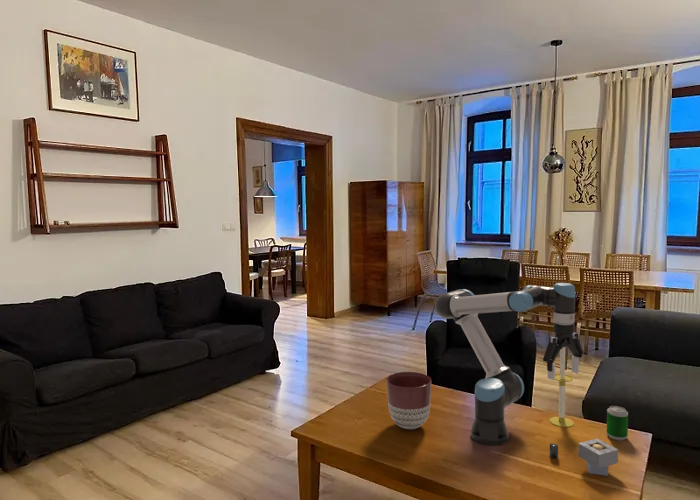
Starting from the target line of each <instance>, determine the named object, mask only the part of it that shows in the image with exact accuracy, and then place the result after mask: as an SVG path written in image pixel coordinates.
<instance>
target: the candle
mask: <svg viewBox="0 0 700 500" xmlns="http://www.w3.org/2000/svg"><path fill="white" fill-rule="evenodd" d="M573 380H574V378H573V377H572V376H570V375H568V374H566V346H565V347H563V348H562V349H560V351H559V373H555V380H554V381H558V416H553V417H551V418H549V422H550V424H551V425H554V426H557V427H559V426H560V428H571V427H573V426H574V425H575V422H574V421H573V420H572V419H571V418H568V417H566V383H567V382H572V381H573Z"/></svg>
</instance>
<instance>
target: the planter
mask: <svg viewBox="0 0 700 500" xmlns="http://www.w3.org/2000/svg"><path fill="white" fill-rule="evenodd" d="M386 390H387V392H386V393H387V402H388V403H387V405H388V406H387V407H388V411H389V415H390V417H391V419H392V421H393V422H394V423H395V425H397V427H400V428H401V429H405V430H416V429H418V428H421V427H422V426H423V425H424V424H426V422H427V420H428V418H429V415H430V410H431V401H432V400H431V399H432V394H431V393H432V378H431V377H430V376H429V375H426V374H424V373H420V372H415V371H400V372H396V373H392V374H389V375H388V376H387V377H386Z"/></svg>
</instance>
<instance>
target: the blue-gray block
mask: <svg viewBox="0 0 700 500" xmlns="http://www.w3.org/2000/svg"><path fill="white" fill-rule="evenodd" d="M593 448H595V449H597V450H598V451H599V450H603V447H602V446H601V445H599V444H593ZM586 467H587V470H588V473H589V474H592V475H599V476H607V477H608V476H609V466H606V467H603V468H597V467H595V466H594V465H592V464H590V463H589V462H587V461H586Z"/></svg>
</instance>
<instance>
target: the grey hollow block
mask: <svg viewBox="0 0 700 500" xmlns="http://www.w3.org/2000/svg"><path fill="white" fill-rule="evenodd" d="M593 444H599V445H601V446H602V447H603V450H599V451H598V450H597V449H595V448H593ZM577 447H578V448H577V449H578V453H577V455H578V456H577V457H578V458H580V459H581V460H584V461H585V462H586V463H587V462H589V463H590V464H592V465H594V466H595V467H597V468H603V467H606V466H608V467H609V466H613V465H616V464H618V463H619V449H618V448H616V447H614V446H612V445H610V444H608V443H607V442H605V441H603V440H600V439H599V438H593V439H590V440H585V441H583V442H579V443H578V446H577Z"/></svg>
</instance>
